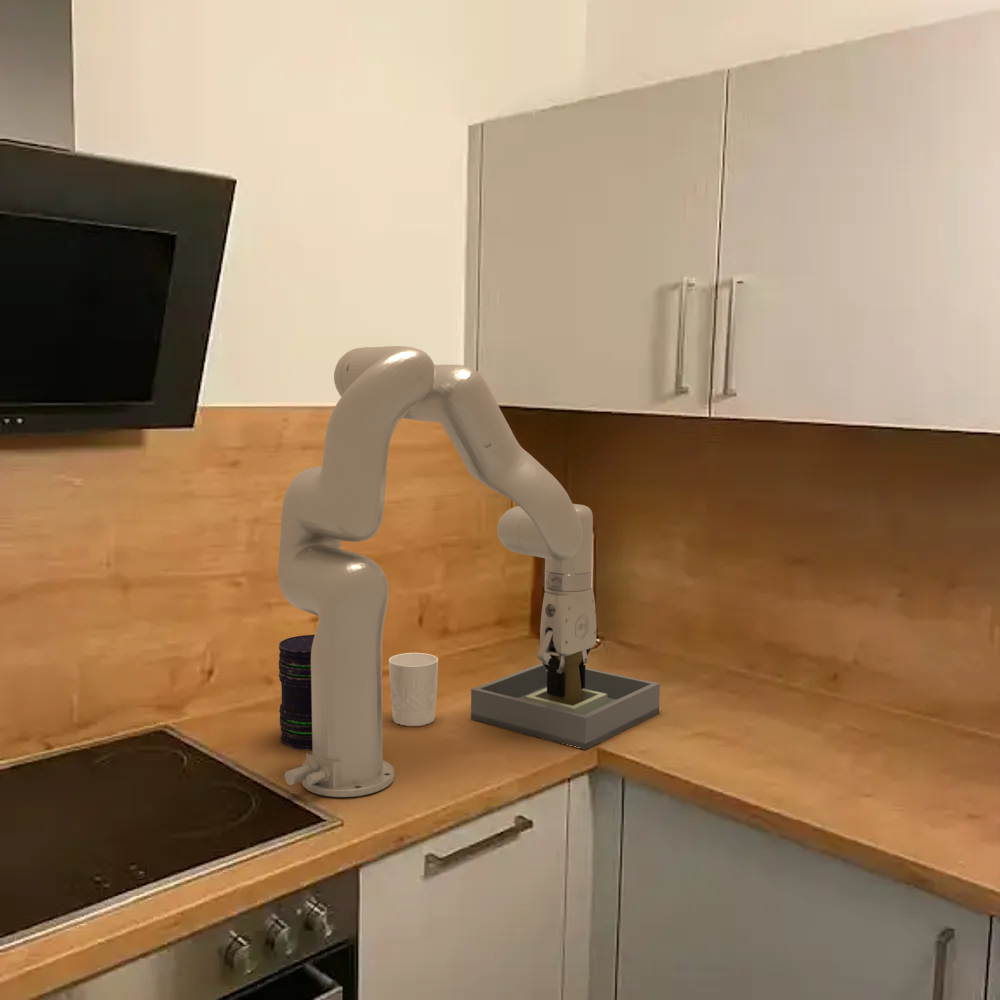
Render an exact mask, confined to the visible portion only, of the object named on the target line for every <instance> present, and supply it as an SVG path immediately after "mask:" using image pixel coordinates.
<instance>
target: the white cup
mask: <svg viewBox="0 0 1000 1000" xmlns="http://www.w3.org/2000/svg"><path fill="white" fill-rule="evenodd" d="M438 671H439V658H438V657H437V656H436V655H434V654H430V653H426V652H425V653H424V652H405V653H399V654H396V655H392V656H390V657H389V659H388V672H389V688H390V689H389V690H390V702H391V713H392V715H391V716H392V717H391V718H392V721H393V722H394V723H395V724H398V725H399V724H400V726H404V725H405V727H421V726H426V724H427V725H429V724H431V723H432V722H434V721H435V719H436V703H437V695H438V694H437V692H438V675H439V672H438Z"/></svg>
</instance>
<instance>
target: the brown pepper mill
mask: <svg viewBox="0 0 1000 1000" xmlns="http://www.w3.org/2000/svg"><path fill="white" fill-rule="evenodd" d="M554 652H557V651H556V649H555V648H554ZM582 656H583V654H582V651H581V652H579V653H576V654H573V655H570V656H566V657H565V662H564V668H563V673H565V696H564V697H562V698H561V697H557V696H553V695H549V700H551V701H555V702H559V703H563V704H567V705H572V706H573V705H576V704H578V703H580V702H582V701H583V698H582V689H581V680H580V671H579V664H580V663H581V661H582ZM553 659H555V661H556V662H557V663H558V657H557V656H553Z"/></svg>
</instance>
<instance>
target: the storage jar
mask: <svg viewBox="0 0 1000 1000" xmlns="http://www.w3.org/2000/svg"><path fill="white" fill-rule="evenodd" d="M314 636H315V634H307V635H305V634H304V635H297V636H292V637H288V638H285V639H283V640H281V641H280V642H279V644H278V649H279V653H278V657H279V659H278V670H279V671H278V672H279V674H278V677H279V682H280V683H281V684H280V685H281V689H280V690H281V703H280V705H279V711H278V712H279V726H280V732H281V735H280V743H282V745H283V746H285V747H287V748H290V749H294V750H301V751H312V690H311V649H312V643H313V639H314Z"/></svg>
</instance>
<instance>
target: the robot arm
mask: <svg viewBox="0 0 1000 1000" xmlns="http://www.w3.org/2000/svg"><path fill="white" fill-rule="evenodd" d="M333 381H334V386H335V389H336V391H337V393H338V395H339V396H340V398H339V400H338V402H337V403H336V404H335V406H334V408H333V409H332V412H331V415H330V417H329V419H328V423H327V427H326V430H325V436H324V437H325V439H324V447H323V454H322V464H321V466H320V465H319V466H312V467H308V468H306V469H304V470H302V471H300V472H299V473H298V474H297V475H296V476H294V478H293V479H292V480H291V482H290V483H289V485H288V487H287V488H286V491H285V493H284V498H283V500H282V506H281V516H280V517H281V518H280V519H281V521H280V533H279V548H278V566H277V567H278V571H277V573H278V576H277V577H278V584H279V588H280V591H281V593H282V595H283V597H284V598H285V600H286V601H287V602H288V603H289V604H290V605H292V606H293V607H295V608H297V609H299V610H300V611H304V612H306V613H310V614H312V615H315V616H317V617H318V624H317V628H316V630H315V634H314V635H315V636H314V639H313V643H312V649H311V690H312V750H311V751H310V752H307V753H306V760H305V761H304V762H303V763H302V765H301V766H296V767H294V768H291V769H289V770H286V771H285V773H284V781H285V782H286V783H287V784H288V785H289V786H292V785H296V784H298V783H300V784H302V787H303V788H305V789H306V790H307V791H309V792H311V793H313V794H316V795H318V796H319V795H320V796H325V797H331V798H353V797H361V796H366V795H371V794H374V793H377V792H379V791H382V790H384V789H386V788H387V787H389V786H390V785H391V784H392V783H393V782H394V779H395V769H394V767H393V765H392V764H390V763H389V762H388V761H386V760H384V759H383V757H384V756H383V754H384V753H383V752H384V751H383V745H384V744H383V741H384V740H383V636H384V635H383V634H384V625H385V619H386V614H387V608H388V604H389V596H390V591H389V590H390V588H389V587H390V586H389V583H388V578H387V576H386V573H385V572H384V570H383V569H382V567H381V566H380V565H379V564H378V563H377V561H374V560H373V559H371V558H370V557H368V556H367V555H364V554H360V553H359V552H354V551H350V550H347V549H342V548H341V546H342V545H341V542H342V541H343V542H348V543H349V542H350V543H359V542H365V541H368V540H369V539H372V538H373V537H375V535H376V534H377V533H378V531H379V530H380V528H381V526H382V523H383V518H384V511H385V500H386V499H385V497H386V489H387V488H386V485H387V484H386V483H387V472H388V459H389V451H390V444H391V439H392V437H393V434H394V432H395V429H396V427H397V426H398V424H399V423H400V422H401V420H402V419H406V420H412V421H419V422H425V423H426V422H427V423H429V422H431V423H439V424H440V425H441V426H442V428H443V430H444V431H445V433H446V434H447V436H448V438H449V440H450V442H451V443H452V445H453V446H454V449H455V450H456V452H457V453H458V455H459V458H460V459H461V461H462V462H463V465H464V467H465V469H466V470H467V472H468V473H469V474H470V476H472V477H473V478H474V479H475V480H477V481H479V482H480V483H481V484H483V485H484V486H486V487H488V488H490V489H491V490H493V491H496V492H497V493H498V494H501V495H503V496H505V497H506V498H508V499H509V500H511V501H512V502H514V504H516V505H517V506H514V507H511V508H510V509H508V510H506V511H505V512H504V513H503V514H502V515H501V517H500V518H499V520H498V522H497V528H496V533H497V537H498V540H499V541H500V543H501V544H502V546H503V547H505V549H507V550H509V551H511V552H513V553H517V554H519V555H526V556H530V557H531V556H532V557H536V558H540V559H541V558H542V559H544V593H543V599H542V607H541V613H540V614H541V617H540V628H539V629H540V630H539V632H540V633H539V634H540V636H539V640H540V648H539V650H538V652H537V658H538V660H539V661H540V662H541V663H543V665H544V666H545V670H546V671H547V694H549V695H553V696H557V697H561V698H562V697H564V696H565V673H563V668H564V662H565V657H566V656H570V655H573V654H576V653H579V652H581V651H582V654H583V656H582V661H581V663H580V664H579V671H580V680H581V689H584V688H585V668H587V667H586V665H587V664H588V662H589V659H588V655H589V653H590V652H591V648H593V647H594V646H595V645H596V643H597V613H596V612H597V611H596V601H595V594H594V589H593V587H592V584H593V583H592V580H593V578H592V574H593V571H592V569H593V532H594V531H593V526H594V516H593V511H592V509H591V508H590V507H589V506H586V505H585V504H578V503H577V504H576V503H573V502H572V500H571V498H570V496H569V494H568V492H567V491H566V489H565V488H564V487H563V486H562V484H561V483H560V482H559V480H557V478H556V477H555V476H554V475H553V474H552V473H550V471H549V470H548V469H547V468H546V467H544V466H543V464H541V463H540V462H539V461H538V460H537V459H535V458H534V457H533V456H532V455H531V454H530V453H529V452H528V451H526V450H525V449H524V448H523V447H522V446H521V445H520V443H519V441H518V440H517V438H516V436H515V434H514V433H513V431H512V429H511V427H510V424H509V423H508V422H507V420H506V418H505V415H504V414H503V412H502V410H501V408H500V407H499V404H498V402H497V401H496V398H495V396H494V395H493V393H492V391H491V388H489V386H488V383H487V382H486V380H485V378H484V377H483V376H482V374H481V373H480V372H479V371H478V370H476V369H475V368H473V367H471V366H466V365H462V364H434V362H433V360H432V358H431V356H430V355H428V354H427V353H426V352H425V351H424V350H422V349H418V348H416V347H413V346H406V345H405V346H404V345H403V346H402V345H401V346H400V345H389V346H387V345H386V346H369V347H368V346H364V347H356V348H353V349H351V350H348V351H347V352H346V353H344V355H342V356H341V357H340V358H339V360H338V361H337V363H336V365H335V368H334V373H333ZM554 648H555V649H556V651H557V652H554ZM553 656H557V657H558V663H557V662H556V661H555V659H553Z"/></svg>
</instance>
